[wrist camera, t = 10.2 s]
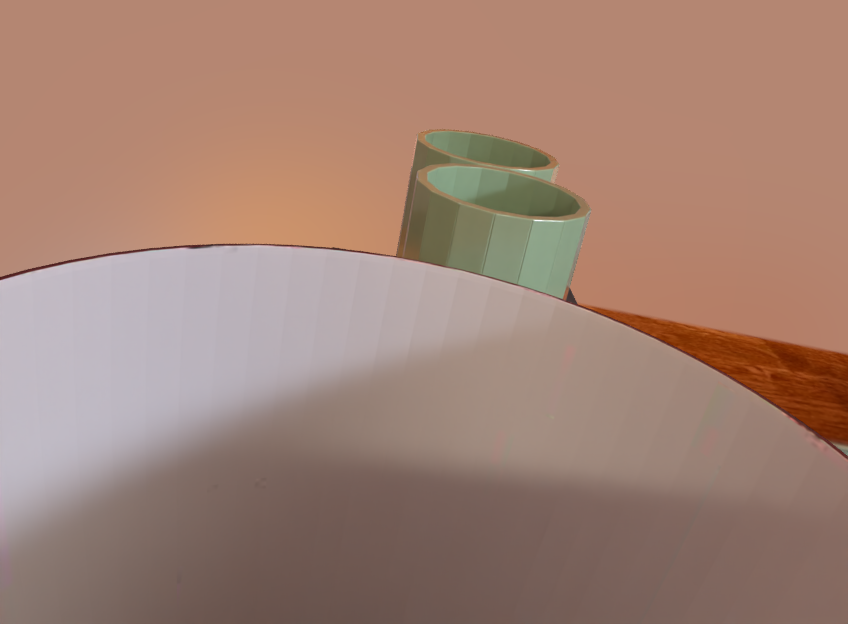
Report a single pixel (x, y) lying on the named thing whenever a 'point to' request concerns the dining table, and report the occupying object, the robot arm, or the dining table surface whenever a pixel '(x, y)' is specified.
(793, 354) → the dining table surface
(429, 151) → the cup
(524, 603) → the mug
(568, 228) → the cup
